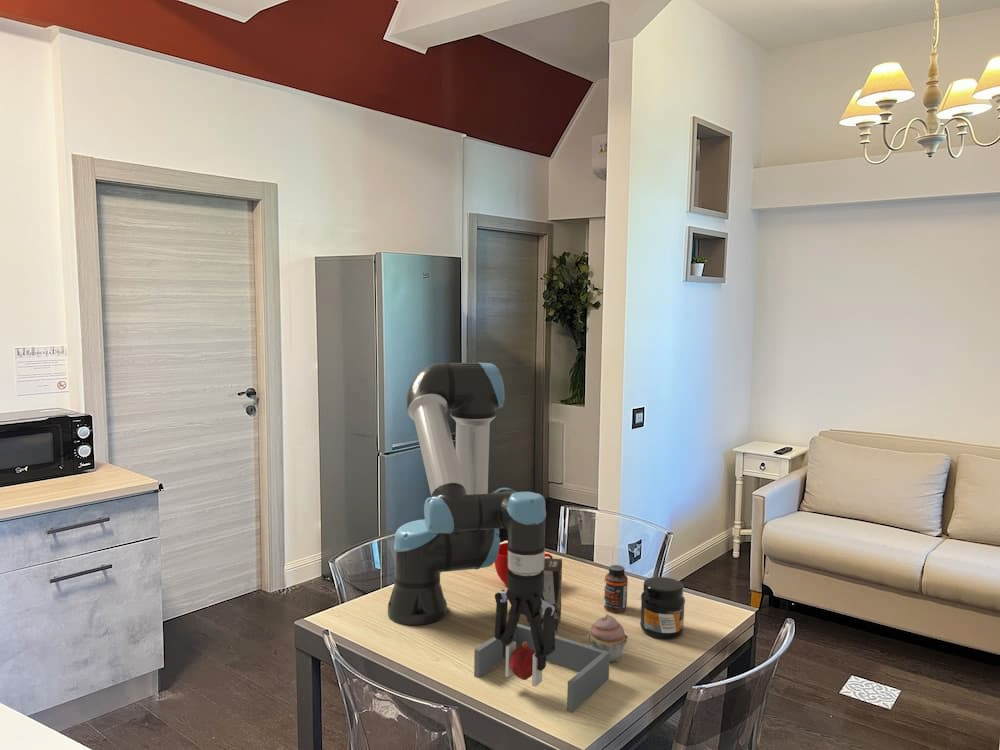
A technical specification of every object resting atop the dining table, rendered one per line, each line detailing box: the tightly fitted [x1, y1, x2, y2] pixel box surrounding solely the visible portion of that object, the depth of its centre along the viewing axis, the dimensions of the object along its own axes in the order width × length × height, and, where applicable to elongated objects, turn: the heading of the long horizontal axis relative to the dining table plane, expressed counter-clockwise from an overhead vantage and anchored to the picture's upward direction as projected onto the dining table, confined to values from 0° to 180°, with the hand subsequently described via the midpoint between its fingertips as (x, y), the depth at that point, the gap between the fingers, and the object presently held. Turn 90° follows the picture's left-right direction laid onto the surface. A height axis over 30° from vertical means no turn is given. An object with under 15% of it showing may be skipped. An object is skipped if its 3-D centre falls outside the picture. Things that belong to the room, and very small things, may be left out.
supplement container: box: [639, 576, 686, 640], centre depth 180 cm, size 10×10×12 cm
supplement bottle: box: [603, 564, 629, 614], centre depth 192 cm, size 6×6×11 cm
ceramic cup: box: [494, 542, 554, 587], centre depth 209 cm, size 13×17×10 cm
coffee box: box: [540, 557, 563, 636], centre depth 181 cm, size 9×6×16 cm
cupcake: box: [586, 613, 629, 663], centre depth 166 cm, size 9×9×10 cm
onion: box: [510, 642, 535, 681], centre depth 150 cm, size 6×6×8 cm
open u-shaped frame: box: [473, 623, 610, 714], centre depth 156 cm, size 24×16×6 cm, turn 55°
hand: (523, 678), depth 150 cm, fingers closed on onion, 6 cm apart
